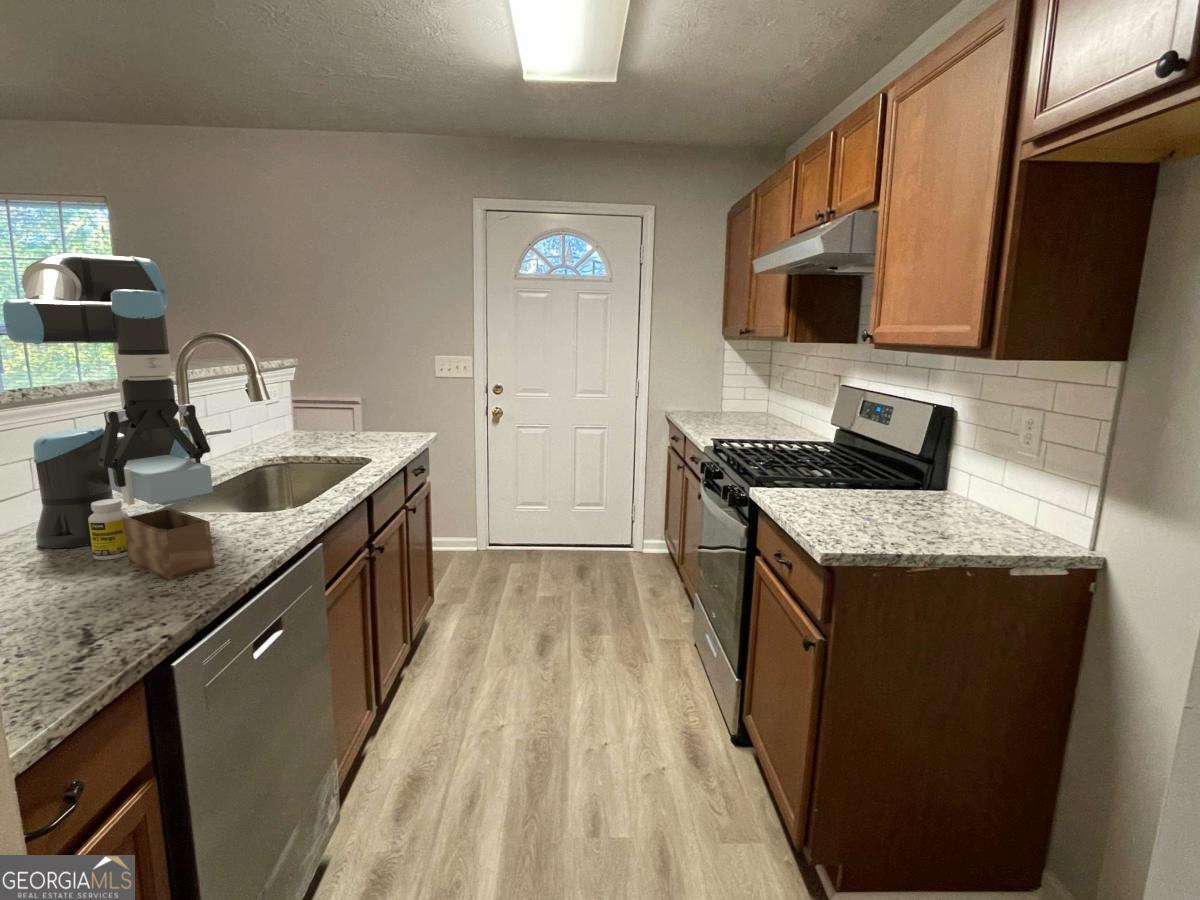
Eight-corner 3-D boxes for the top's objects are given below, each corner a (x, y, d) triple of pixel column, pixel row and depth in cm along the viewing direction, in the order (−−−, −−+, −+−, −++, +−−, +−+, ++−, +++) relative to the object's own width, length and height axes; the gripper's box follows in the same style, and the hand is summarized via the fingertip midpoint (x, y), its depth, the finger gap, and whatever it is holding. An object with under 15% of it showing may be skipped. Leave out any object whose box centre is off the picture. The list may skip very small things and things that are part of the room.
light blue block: (111, 495, 116) (107, 463, 115) (171, 484, 124) (167, 454, 123) (152, 511, 107) (148, 476, 106) (213, 498, 115) (210, 466, 114)
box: (128, 562, 119) (122, 517, 117) (174, 550, 126) (169, 508, 124) (167, 580, 110) (161, 532, 109) (214, 567, 117) (209, 521, 115)
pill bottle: (89, 562, 119) (81, 507, 117) (97, 552, 124) (89, 499, 122) (129, 557, 121) (122, 503, 119) (135, 548, 127) (128, 496, 125)
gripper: (77, 383, 100) (97, 514, 104) (223, 375, 119) (235, 487, 123) (60, 380, 104) (80, 507, 108) (204, 373, 123) (216, 481, 127)
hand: (162, 496), depth 116 cm, fingers closed on light blue block, 10 cm apart
